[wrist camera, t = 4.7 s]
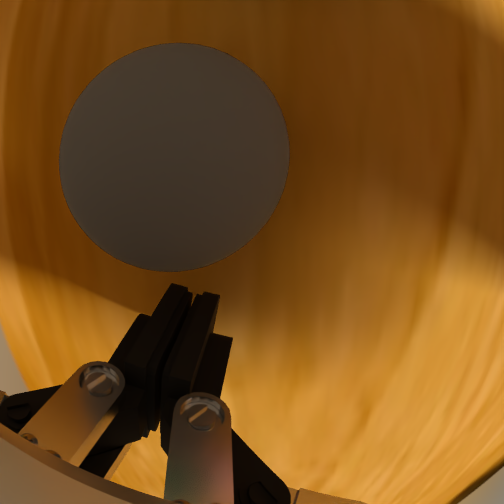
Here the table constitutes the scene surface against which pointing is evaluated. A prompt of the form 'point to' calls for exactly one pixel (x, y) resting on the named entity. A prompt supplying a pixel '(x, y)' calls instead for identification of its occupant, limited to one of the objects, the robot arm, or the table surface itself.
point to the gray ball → (174, 157)
